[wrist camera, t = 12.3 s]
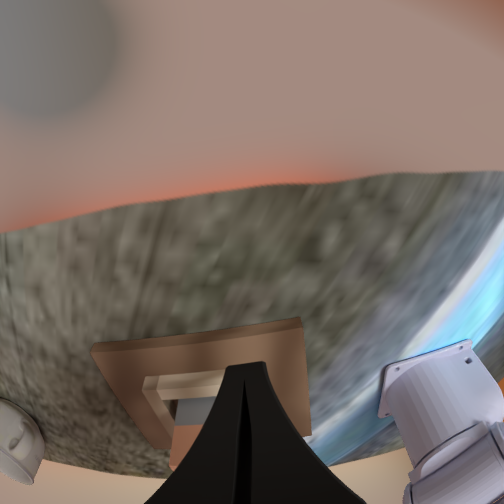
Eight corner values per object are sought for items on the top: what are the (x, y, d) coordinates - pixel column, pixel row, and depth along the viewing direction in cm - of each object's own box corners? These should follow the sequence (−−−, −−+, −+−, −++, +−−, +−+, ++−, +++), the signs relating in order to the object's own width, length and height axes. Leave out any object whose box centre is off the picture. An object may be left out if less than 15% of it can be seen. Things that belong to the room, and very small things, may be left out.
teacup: (22, 438, 31) (4, 479, 23) (-28, 386, 26) (-53, 427, 19) (84, 440, 29) (67, 493, 22) (24, 379, 25) (-6, 435, 18)
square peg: (229, 386, 23) (228, 464, 17) (239, 415, 25) (241, 486, 18) (179, 391, 23) (168, 465, 17) (194, 419, 25) (188, 488, 18)
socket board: (299, 316, 22) (307, 341, 20) (309, 425, 28) (314, 447, 25) (94, 342, 22) (83, 365, 20) (155, 439, 28) (152, 460, 26)
